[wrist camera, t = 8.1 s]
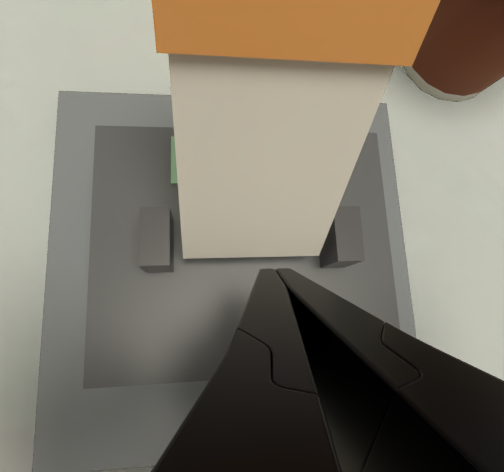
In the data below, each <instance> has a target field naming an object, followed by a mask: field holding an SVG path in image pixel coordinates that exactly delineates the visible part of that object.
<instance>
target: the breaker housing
mask: <svg viewBox="0 0 504 472" xmlns="http://www.w3.org/2000/svg"><path fill="white" fill-rule="evenodd" d="M266 268H273V269H277V268H291V269H292V270H294V271H296V272H298V273H299V274H301V275H303V276H305V277H307V278H308V279H310V280H312V281H314V282H315V283H317V284H319V285H321V286H323V287H324V288H326V289H328V290H330V291H331V292H333V293H335V294H337V295H338V296H340V297H342V298H344V299H346V300H347V301H349V302H351V303H353V304H354V305H356V306H358V307H360V308H361V309H363V310H365V311H367V312H369V313H370V314H372V315H374V316H376V317H377V318H379V319H381V320H383V321H384V323H385V322H387V323H389V324H391V325H393V326H394V327H396V328H398V329H400V330H402V331H403V332H405V333H407V334H409V335H411V336H413V337H415V338H416V332H415V324H414V316H413V308H412V300H411V293H410V285H409V277H408V269H407V261H406V253H405V245H404V237H403V229H402V222H401V214H400V206H399V198H398V190H397V182H396V174H395V166H394V159H393V151H392V143H391V135H390V127H389V119H388V111H387V103H380V104H379V107H378V109H377V112H376V114H375V117H374V119H373V122H372V124H371V127H370V129H369V132H368V134H367V137H366V139H365V142H364V144H363V147H362V149H361V152H360V154H359V157H358V159H357V162H356V164H355V167H354V169H353V172H352V174H351V177H350V179H349V182H348V184H347V187H346V189H345V192H344V194H343V197H342V199H341V202H340V204H339V207H338V209H337V212H336V214H335V217H334V219H333V222H332V224H331V227H330V229H329V232H328V234H327V237H326V239H325V242H324V244H323V247H322V249H321V252H320V254H319V256H286V257H239V258H193V259H183V251H182V237H181V223H180V209H179V195H178V181H177V167H176V153H175V139H174V125H173V111H172V97H171V95H153V94H127V93H101V92H74V91H59V97H58V111H57V125H56V139H55V154H54V168H53V182H52V196H51V211H50V225H49V239H48V253H47V267H46V282H45V296H44V310H43V324H42V339H41V353H40V367H39V381H38V396H37V410H36V424H35V438H34V453H33V467H32V472H94V471H104V470H115V469H125V468H136V467H146V466H155V464H156V463H157V461H158V459H159V458H160V456H161V455H162V453H163V452H164V450H165V449H166V447H167V445H168V444H169V442H170V441H171V439H172V438H173V436H174V435H175V433H176V431H177V430H178V428H179V427H180V425H181V424H182V422H183V421H184V419H185V417H186V416H187V414H188V413H189V411H190V410H191V408H192V407H193V405H194V403H195V402H196V400H197V399H198V397H199V396H200V394H201V393H202V391H203V389H204V388H205V386H206V385H207V383H208V382H209V380H210V378H211V377H212V375H213V374H214V372H215V371H216V369H217V368H218V366H219V364H220V362H221V361H222V359H223V357H224V356H225V354H226V352H227V350H228V348H229V345H230V343H231V341H232V339H233V336H234V333H235V331H236V329H237V327H238V324H239V321H240V319H241V316H242V314H243V311H244V308H245V306H246V303H247V301H248V298H249V295H250V293H251V290H252V288H253V285H254V282H255V280H256V277H257V275H258V272H259V270H260V269H266Z"/></svg>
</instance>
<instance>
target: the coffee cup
mask: <svg viewBox="0 0 504 472" xmlns="http://www.w3.org/2000/svg"><path fill="white" fill-rule="evenodd" d="M404 68H405V70H406V72H407V75H408V76H409V77H410V78H411V79H412V80H413V81H414V82H415V84H416V85H417V86H418V87H419V88H420V89H421V90H423V91H425V92H427V93H428V94H430V95H432V96H434V97H436V98H438V99H442V100H449V101H455V102H458V101H462V100H466V99H470V98H474V97H475V96H476V95H477V94H479V93H480V92H481V91H483V90H484V89H486V88H487V87H489V86H490V85H492V84H493V83H495V82H496V81H498V80H499V79H501V78H502V77H504V0H441V1H440V3H439V5H438V8H437V10H436V12H435V14H434V17H433V19H432V21H431V24H430V26H429V28H428V31H427V33H426V35H425V37H424V40H423V42H422V44H421V47H420V49H419V51H418V54H417V56H416V58H415V60H414V63H413V65H412V66H404Z"/></svg>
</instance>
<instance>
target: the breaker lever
mask: <svg viewBox="0 0 504 472" xmlns="http://www.w3.org/2000/svg"><path fill="white" fill-rule="evenodd" d="M440 1H441V0H152V8H153V19H154V29H155V40H156V50H157V53H168V54H169V68H170V82H171V97H172V111H173V125H174V139H175V153H176V167H177V181H178V195H179V209H180V223H181V237H182V251H183V259H193V258H239V257H286V256H319V254H320V252H321V249H322V247H323V244H324V242H325V239H326V237H327V234H328V232H329V229H330V227H331V224H332V222H333V219H334V217H335V214H336V212H337V209H338V207H339V204H340V202H341V199H342V197H343V194H344V192H345V189H346V187H347V184H348V182H349V179H350V177H351V174H352V172H353V169H354V167H355V164H356V162H357V159H358V157H359V154H360V152H361V149H362V147H363V144H364V142H365V139H366V137H367V134H368V132H369V129H370V127H371V124H372V122H373V119H374V117H375V114H376V112H377V109H378V107H379V104H380V102H381V99H382V97H383V94H384V92H385V89H386V86H387V84H388V81H389V79H390V76H391V74H392V71H393V69H394V66H395V65H396V66H412V65H413V63H414V60H415V58H416V56H417V54H418V51H419V49H420V47H421V44H422V42H423V40H424V37H425V35H426V33H427V31H428V28H429V26H430V24H431V21H432V19H433V17H434V14H435V12H436V10H437V8H438V5H439V3H440Z"/></svg>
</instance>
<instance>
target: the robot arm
mask: <svg viewBox="0 0 504 472" xmlns="http://www.w3.org/2000/svg"><path fill="white" fill-rule="evenodd" d="M151 472H504V381H503V380H501V379H499V378H497V377H495V376H493V375H490V374H488V373H486V372H484V371H482V370H480V369H478V368H476V367H474V366H472V365H470V364H468V363H465V362H463V361H461V360H459V359H457V358H455V357H453V356H451V355H449V354H447V353H445V352H442V351H440V350H438V349H436V348H434V347H432V346H430V345H428V344H426V343H424V342H422V341H420V340H418V339H416V338H415V337H413V336H411V335H409V334H407V333H405V332H403V331H402V330H400V329H398V328H396V327H394V326H393V325H391V324H389V323H387V322H385V323H384V321H383V320H381V319H379V318H377V317H376V316H374V315H372V314H370V313H369V312H367V311H365V310H363V309H361V308H360V307H358V306H356V305H354V304H353V303H351V302H349V301H347V300H346V299H344V298H342V297H340V296H338V295H337V294H335V293H333V292H331V291H330V290H328V289H326V288H324V287H323V286H321V285H319V284H317V283H315V282H314V281H312V280H310V279H308V278H307V277H305V276H303V275H301V274H299V273H298V272H296V271H294V270H292V269H291V268H277V269H273V268H266V269H260V270H259V272H258V275H257V277H256V280H255V282H254V285H253V288H252V290H251V293H250V295H249V298H248V301H247V303H246V306H245V308H244V311H243V314H242V316H241V319H240V321H239V324H238V327H237V329H236V331H235V333H234V336H233V339H232V341H231V343H230V345H229V348H228V350H227V352H226V354H225V356H224V357H223V359H222V361H221V362H220V364H219V366H218V368H217V369H216V371H215V372H214V374H213V375H212V377H211V378H210V380H209V382H208V383H207V385H206V386H205V388H204V389H203V391H202V393H201V394H200V396H199V397H198V399H197V400H196V402H195V403H194V405H193V407H192V408H191V410H190V411H189V413H188V414H187V416H186V417H185V419H184V421H183V422H182V424H181V425H180V427H179V428H178V430H177V431H176V433H175V435H174V436H173V438H172V439H171V441H170V442H169V444H168V445H167V447H166V449H165V450H164V452H163V453H162V455H161V456H160V458H159V459H158V461H157V463H156V464H155V466H154V467H153V469H152V470H151Z"/></svg>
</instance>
